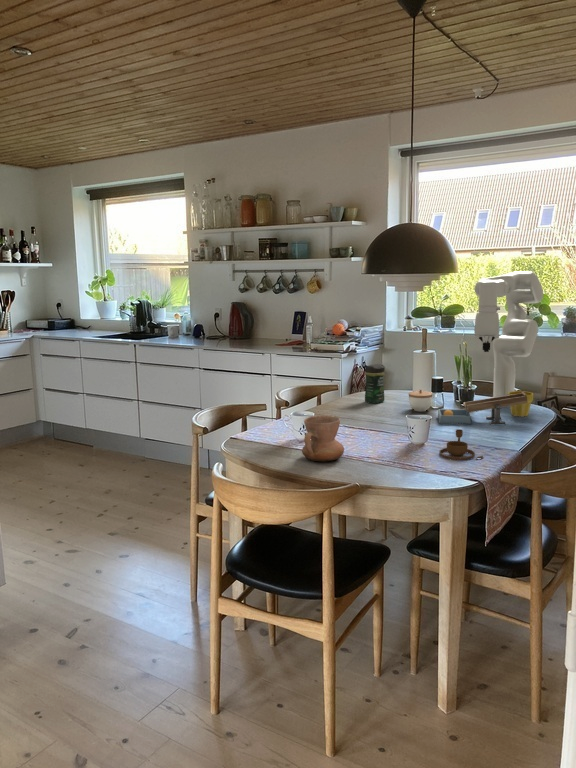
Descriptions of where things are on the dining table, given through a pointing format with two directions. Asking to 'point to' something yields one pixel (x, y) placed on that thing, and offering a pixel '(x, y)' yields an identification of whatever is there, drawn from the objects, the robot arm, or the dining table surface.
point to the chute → (496, 402)
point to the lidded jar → (420, 400)
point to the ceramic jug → (322, 438)
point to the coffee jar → (374, 383)
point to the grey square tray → (454, 417)
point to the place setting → (457, 449)
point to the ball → (448, 413)
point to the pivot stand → (495, 415)
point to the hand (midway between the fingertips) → (486, 351)
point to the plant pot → (521, 408)
